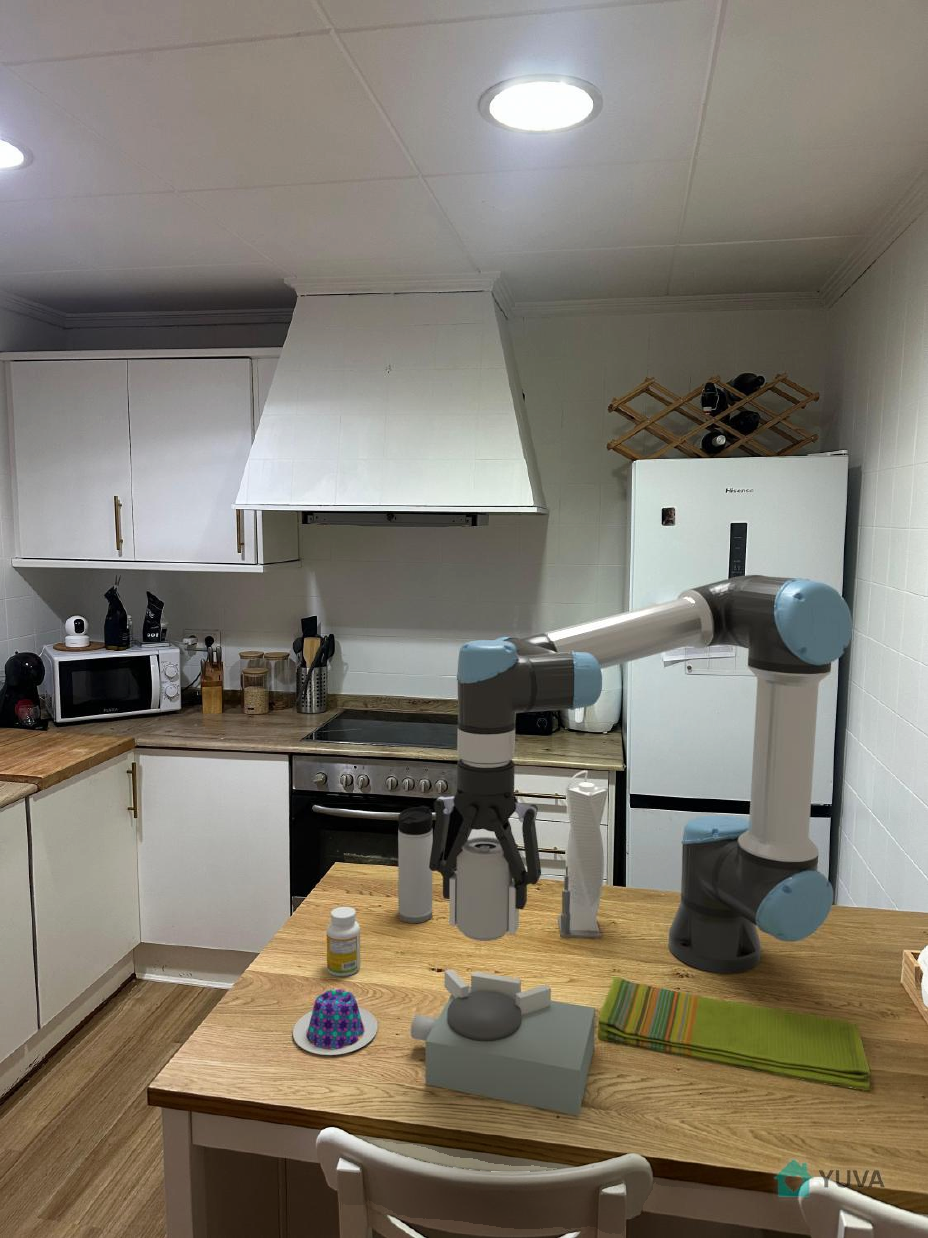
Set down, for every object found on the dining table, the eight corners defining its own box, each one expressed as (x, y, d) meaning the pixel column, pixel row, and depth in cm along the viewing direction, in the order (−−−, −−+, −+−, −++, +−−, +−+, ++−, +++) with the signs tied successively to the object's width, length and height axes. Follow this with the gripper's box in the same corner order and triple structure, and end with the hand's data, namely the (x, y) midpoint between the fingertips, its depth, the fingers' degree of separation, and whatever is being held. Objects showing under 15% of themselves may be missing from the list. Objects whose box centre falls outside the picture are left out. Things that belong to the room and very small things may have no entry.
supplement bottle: (336, 957, 141) (336, 902, 140) (365, 963, 140) (365, 907, 138) (321, 973, 136) (320, 916, 135) (351, 980, 135) (350, 922, 133)
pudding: (386, 1013, 126) (386, 980, 125) (364, 1064, 114) (364, 1028, 114) (309, 1005, 128) (309, 973, 127) (280, 1055, 116) (279, 1019, 116)
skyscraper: (557, 914, 157) (560, 768, 154) (601, 916, 157) (605, 769, 154) (560, 937, 149) (564, 783, 146) (606, 938, 149) (611, 784, 145)
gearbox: (593, 1048, 118) (595, 991, 117) (578, 1116, 104) (580, 1051, 103) (430, 1018, 124) (430, 964, 123) (396, 1078, 111) (396, 1017, 110)
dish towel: (610, 986, 134) (611, 967, 134) (856, 1030, 123) (858, 1009, 123) (595, 1043, 120) (595, 1021, 119) (871, 1098, 109) (873, 1075, 108)
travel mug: (439, 912, 158) (440, 809, 155) (419, 927, 152) (419, 819, 150) (412, 904, 161) (412, 803, 159) (391, 918, 155) (391, 813, 153)
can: (513, 919, 116) (514, 835, 115) (510, 946, 109) (511, 856, 108) (459, 916, 117) (459, 832, 116) (452, 942, 110) (453, 854, 108)
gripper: (568, 758, 111) (564, 924, 114) (422, 745, 117) (421, 903, 119) (557, 775, 104) (553, 951, 106) (402, 760, 110) (402, 927, 112)
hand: (484, 925), depth 113 cm, fingers closed on can, 7 cm apart
